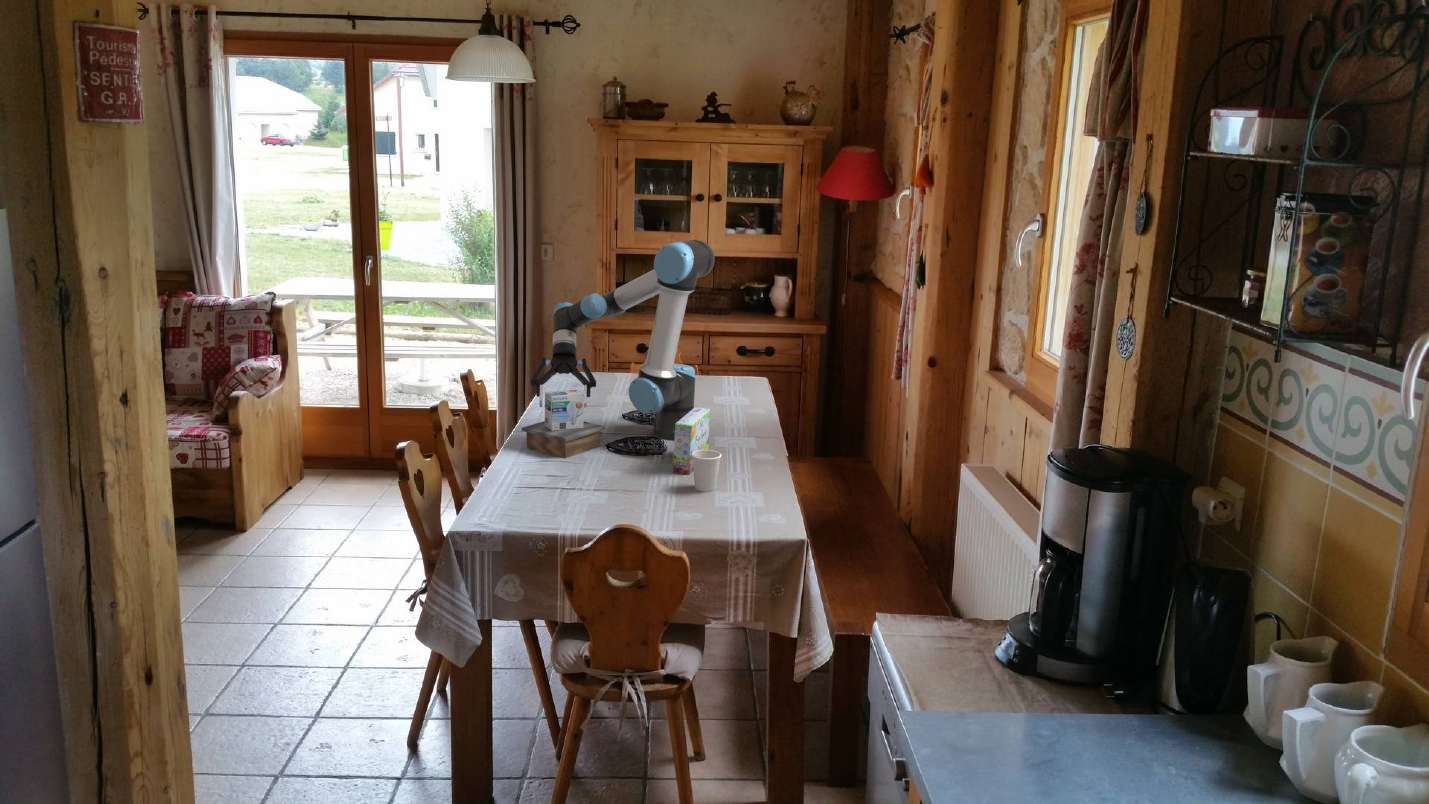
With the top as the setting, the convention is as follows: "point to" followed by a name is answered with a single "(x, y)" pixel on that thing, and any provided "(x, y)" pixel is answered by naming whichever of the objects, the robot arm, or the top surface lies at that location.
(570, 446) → the podium
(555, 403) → the light bulb box
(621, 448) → the top surface
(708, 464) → the dixie cup
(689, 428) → the snack box
